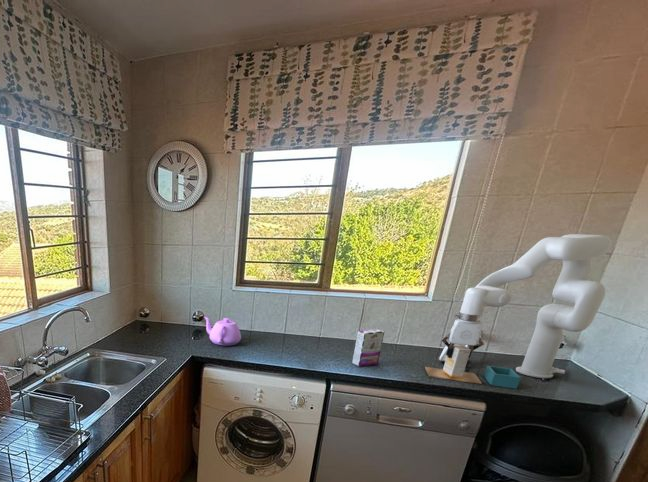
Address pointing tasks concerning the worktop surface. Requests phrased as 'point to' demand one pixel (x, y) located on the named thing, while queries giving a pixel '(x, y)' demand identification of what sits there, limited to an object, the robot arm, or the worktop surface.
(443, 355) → the shaker set
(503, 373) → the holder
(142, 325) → the worktop surface
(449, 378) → the cork mat
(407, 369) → the worktop surface
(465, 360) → the supplement box
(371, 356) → the candy bar box
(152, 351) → the worktop surface
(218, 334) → the teapot
